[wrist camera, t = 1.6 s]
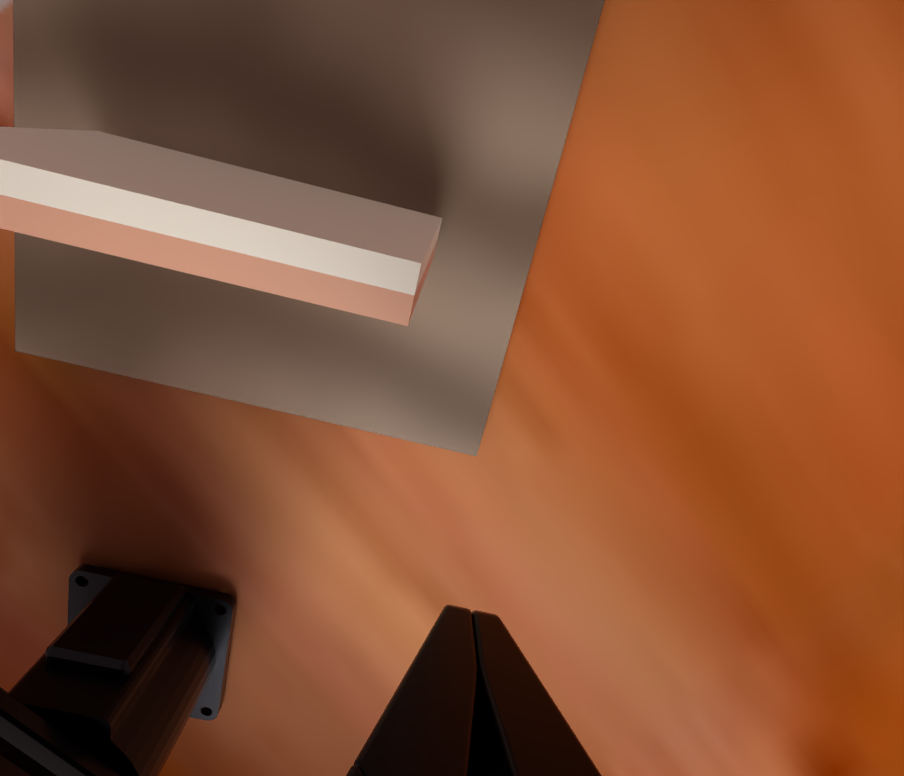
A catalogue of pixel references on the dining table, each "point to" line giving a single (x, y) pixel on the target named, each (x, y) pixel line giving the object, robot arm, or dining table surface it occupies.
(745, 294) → the dining table surface
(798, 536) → the dining table surface
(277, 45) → the board
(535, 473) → the dining table surface
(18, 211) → the tile
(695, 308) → the dining table surface
